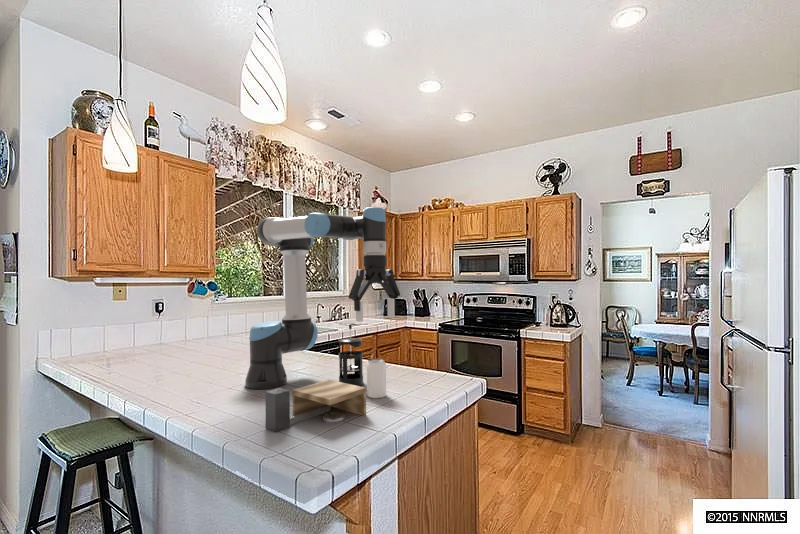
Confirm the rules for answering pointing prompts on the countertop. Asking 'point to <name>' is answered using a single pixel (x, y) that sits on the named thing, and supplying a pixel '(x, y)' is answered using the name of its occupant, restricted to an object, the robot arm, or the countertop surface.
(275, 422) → the tool
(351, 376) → the french press
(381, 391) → the can
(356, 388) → the shelf
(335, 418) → the disc
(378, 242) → the robot arm
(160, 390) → the countertop surface
